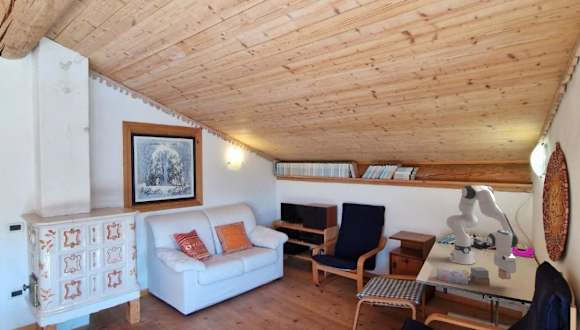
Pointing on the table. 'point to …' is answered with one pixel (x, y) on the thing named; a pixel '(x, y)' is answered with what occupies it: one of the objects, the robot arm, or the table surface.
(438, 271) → the pencil case
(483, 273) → the tower top
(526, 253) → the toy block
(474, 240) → the camera
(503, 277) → the terracotta cube
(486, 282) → the tower bottom
